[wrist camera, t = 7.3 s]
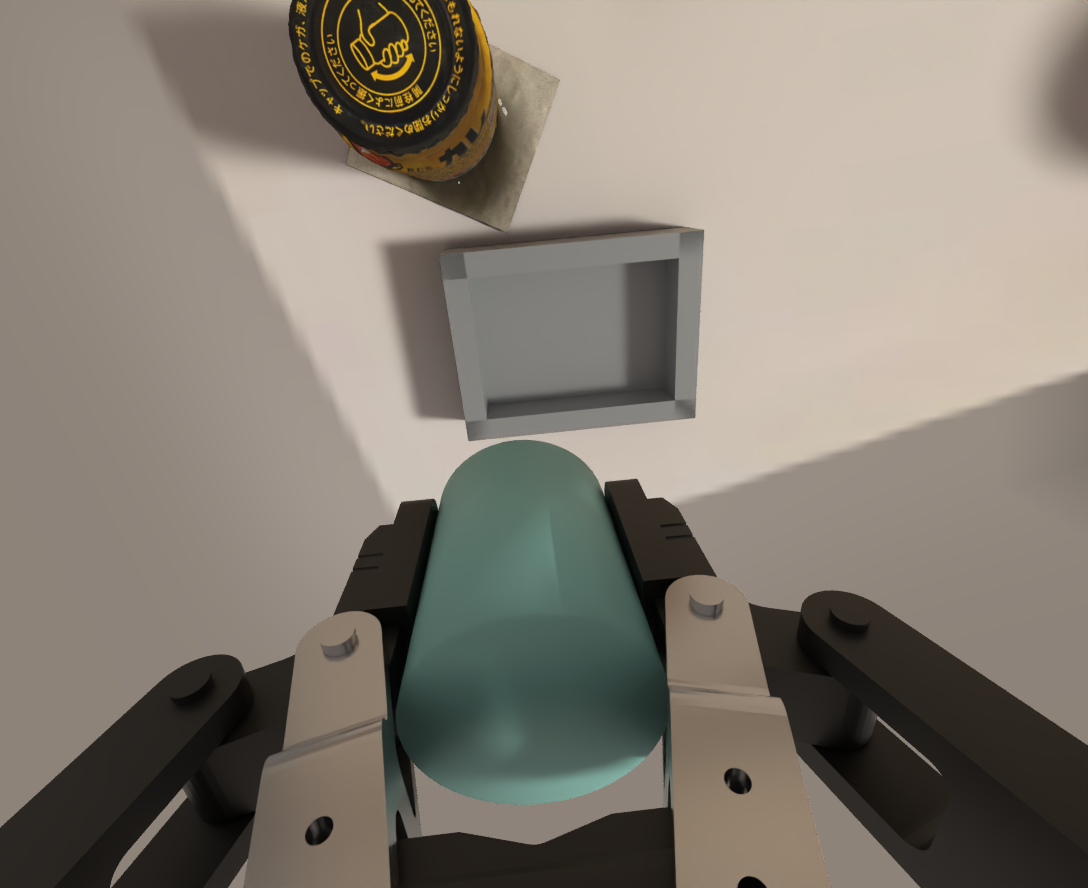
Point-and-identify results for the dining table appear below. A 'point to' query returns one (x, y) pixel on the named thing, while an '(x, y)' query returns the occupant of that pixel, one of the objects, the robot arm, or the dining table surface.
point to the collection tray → (575, 331)
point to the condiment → (424, 98)
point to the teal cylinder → (528, 637)
